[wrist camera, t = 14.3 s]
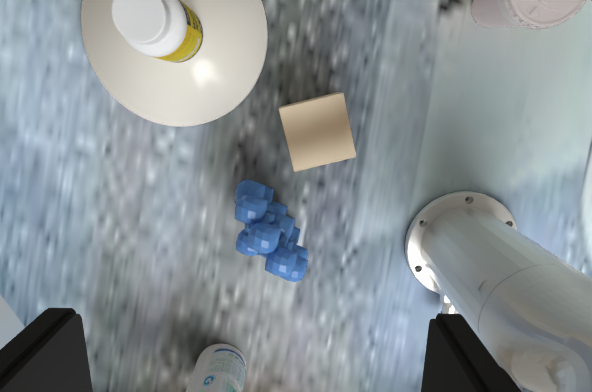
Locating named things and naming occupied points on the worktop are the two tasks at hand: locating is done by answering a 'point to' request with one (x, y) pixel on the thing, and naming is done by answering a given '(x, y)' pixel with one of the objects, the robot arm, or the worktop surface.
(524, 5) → the smoothie
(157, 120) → the ceramic plate
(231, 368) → the spray can
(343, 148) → the ash block
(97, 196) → the worktop surface
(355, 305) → the worktop surface
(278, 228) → the grapes
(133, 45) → the supplement bottle
